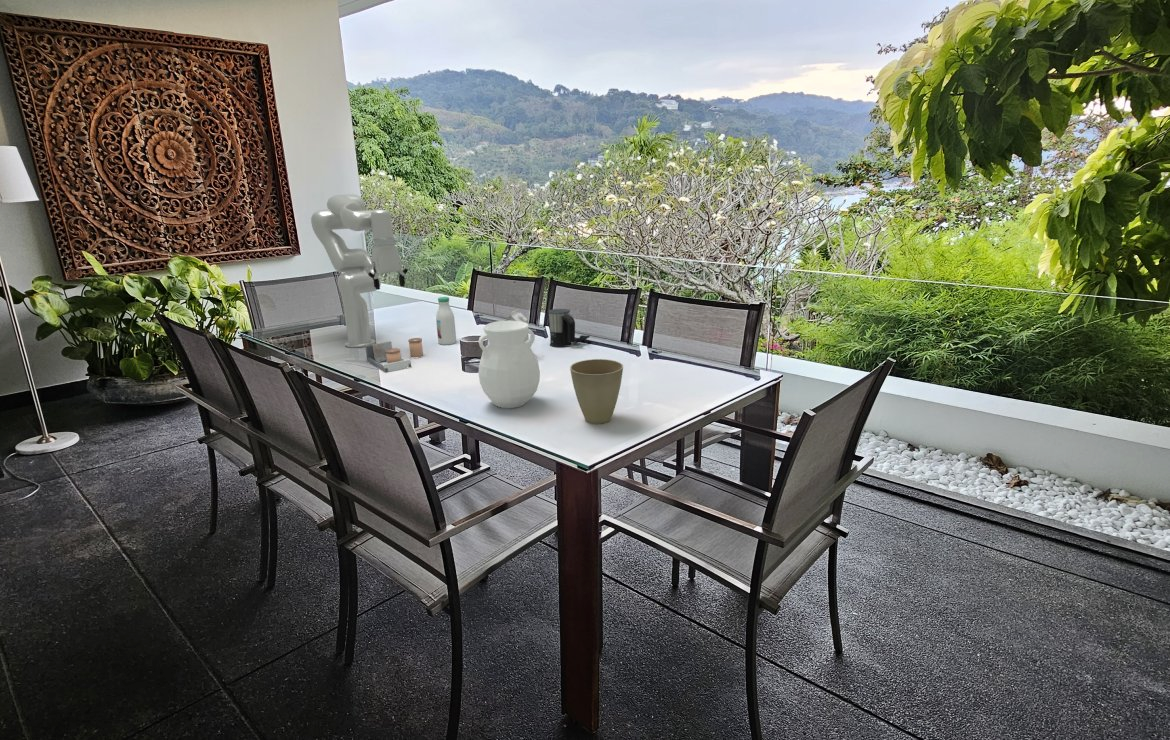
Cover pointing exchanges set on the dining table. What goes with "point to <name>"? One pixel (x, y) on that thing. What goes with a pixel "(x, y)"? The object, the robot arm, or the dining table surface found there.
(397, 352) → the jar
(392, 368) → the grey holder stand
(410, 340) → the jar
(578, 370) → the plant pot
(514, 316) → the milk carton
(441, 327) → the milk bottle
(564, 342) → the milk frother
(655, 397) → the dining table surface
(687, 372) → the dining table surface
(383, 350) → the pusher plate
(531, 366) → the white vase
